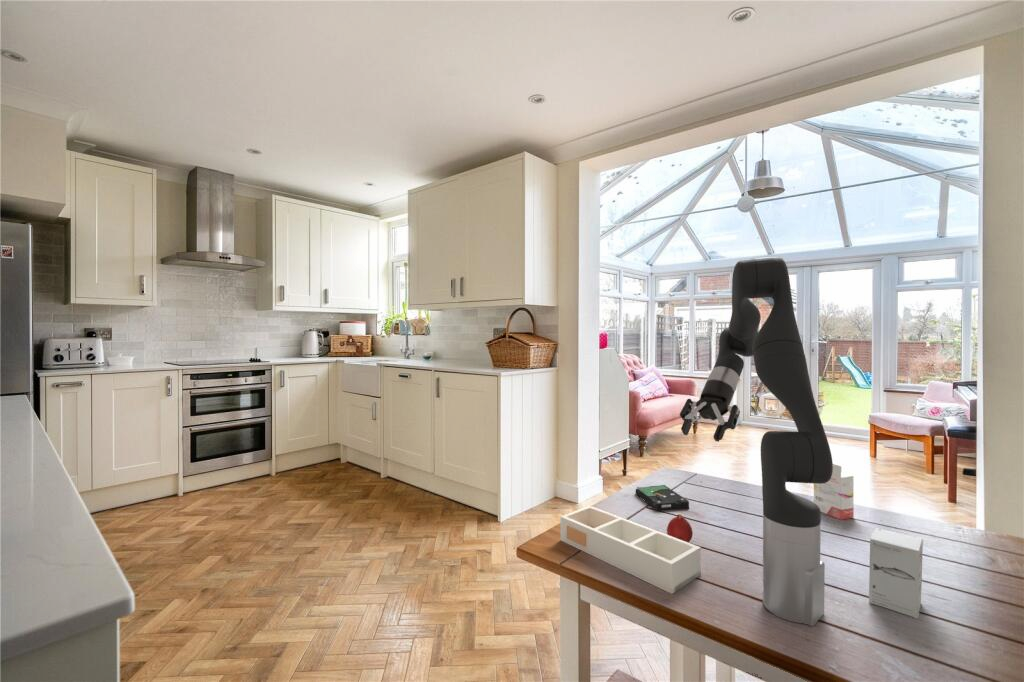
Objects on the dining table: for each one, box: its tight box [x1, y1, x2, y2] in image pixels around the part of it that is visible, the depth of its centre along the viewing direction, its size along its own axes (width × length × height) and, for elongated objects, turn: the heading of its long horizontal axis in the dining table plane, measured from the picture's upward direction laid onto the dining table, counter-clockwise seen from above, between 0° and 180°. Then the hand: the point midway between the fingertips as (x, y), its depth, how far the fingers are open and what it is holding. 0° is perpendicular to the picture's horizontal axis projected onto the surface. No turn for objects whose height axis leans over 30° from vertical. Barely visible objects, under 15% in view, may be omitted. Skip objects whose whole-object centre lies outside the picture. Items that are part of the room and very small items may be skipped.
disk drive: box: [635, 484, 690, 512], centre depth 142 cm, size 10×3×15 cm
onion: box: [666, 513, 693, 543], centre depth 112 cm, size 6×6×8 cm
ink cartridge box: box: [813, 463, 855, 520], centre depth 131 cm, size 9×5×15 cm, turn 17°
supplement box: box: [868, 527, 924, 619], centre depth 88 cm, size 7×7×13 cm
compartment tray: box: [559, 505, 702, 595], centre depth 108 cm, size 31×11×6 cm, turn 39°
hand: (699, 436), depth 120 cm, fingers open, 8 cm apart
